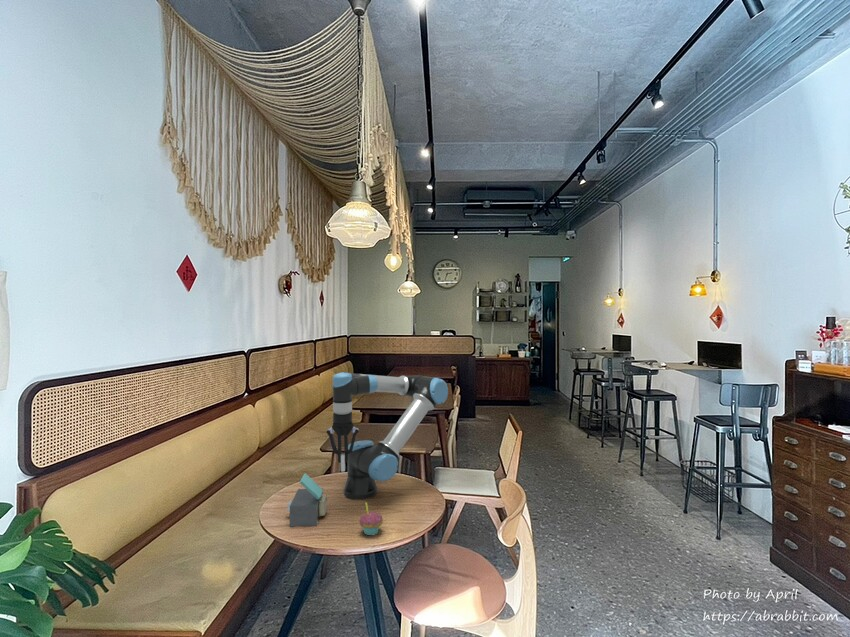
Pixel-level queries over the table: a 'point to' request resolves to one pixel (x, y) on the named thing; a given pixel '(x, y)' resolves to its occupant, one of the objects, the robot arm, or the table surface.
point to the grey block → (304, 509)
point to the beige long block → (321, 505)
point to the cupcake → (370, 522)
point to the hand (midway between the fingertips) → (343, 470)
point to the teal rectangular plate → (311, 486)
